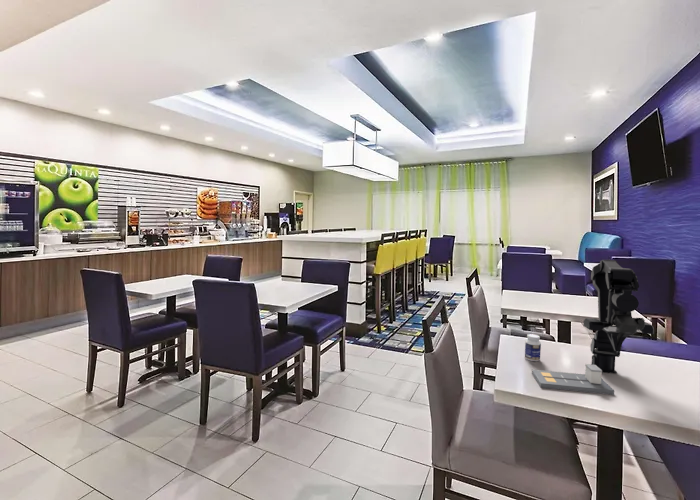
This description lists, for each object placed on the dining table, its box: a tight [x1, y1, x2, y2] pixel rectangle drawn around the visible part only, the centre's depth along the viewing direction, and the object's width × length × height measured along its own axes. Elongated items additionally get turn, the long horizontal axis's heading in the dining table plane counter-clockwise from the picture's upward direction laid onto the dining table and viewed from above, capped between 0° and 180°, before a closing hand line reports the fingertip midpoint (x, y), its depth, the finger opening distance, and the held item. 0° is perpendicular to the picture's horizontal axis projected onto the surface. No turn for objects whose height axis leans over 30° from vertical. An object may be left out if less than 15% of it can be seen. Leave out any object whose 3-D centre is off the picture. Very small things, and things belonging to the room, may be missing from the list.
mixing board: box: [531, 369, 615, 396], centre depth 126 cm, size 22×12×2 cm, turn 76°
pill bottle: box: [524, 333, 542, 362], centre depth 149 cm, size 6×6×10 cm
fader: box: [584, 363, 603, 384], centre depth 124 cm, size 3×5×5 cm, turn 166°
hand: (616, 350), depth 122 cm, fingers closed
